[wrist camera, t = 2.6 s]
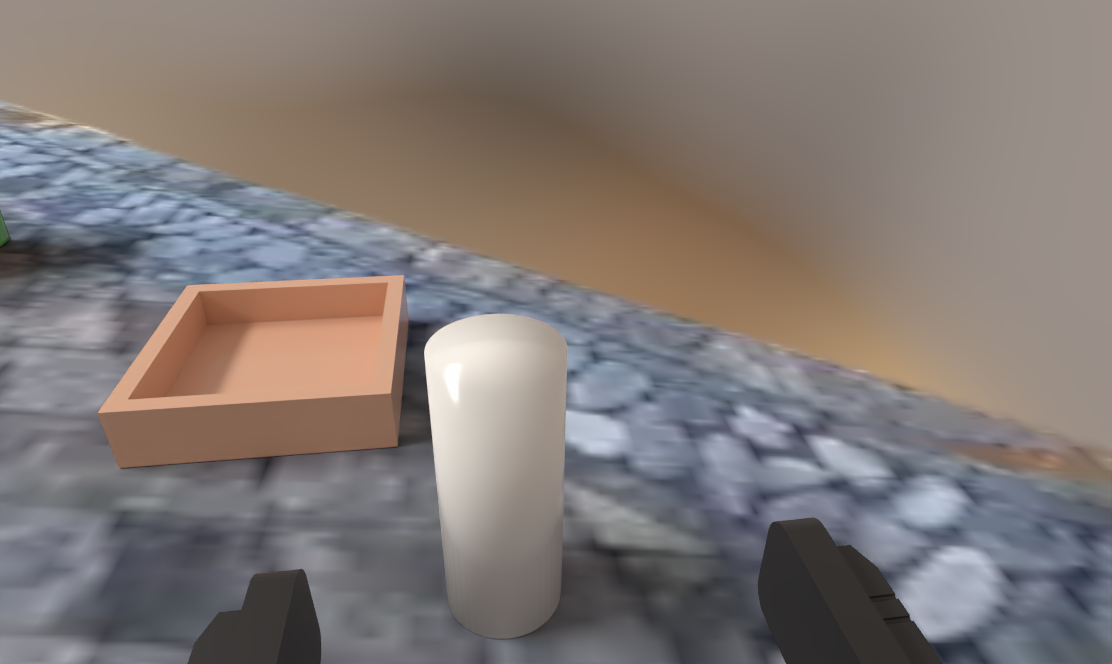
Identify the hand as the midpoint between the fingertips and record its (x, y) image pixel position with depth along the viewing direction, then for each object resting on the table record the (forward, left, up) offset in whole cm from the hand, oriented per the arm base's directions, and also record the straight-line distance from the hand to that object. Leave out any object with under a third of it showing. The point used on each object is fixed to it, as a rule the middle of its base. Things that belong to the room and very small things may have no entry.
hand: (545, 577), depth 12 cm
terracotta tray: (-12, +29, -15) cm, 35 cm away
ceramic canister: (0, +12, -15) cm, 19 cm away
